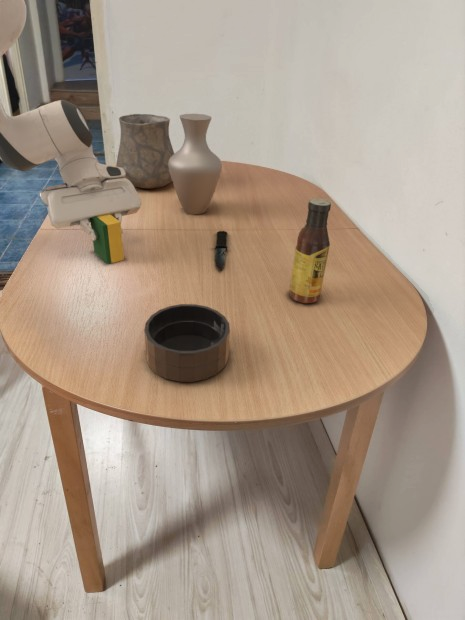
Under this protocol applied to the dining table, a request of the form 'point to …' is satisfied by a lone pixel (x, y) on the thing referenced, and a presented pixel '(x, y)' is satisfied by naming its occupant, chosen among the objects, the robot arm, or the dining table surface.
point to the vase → (195, 166)
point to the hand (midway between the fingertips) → (108, 237)
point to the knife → (220, 249)
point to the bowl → (187, 342)
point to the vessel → (145, 150)
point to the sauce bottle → (311, 254)
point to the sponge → (108, 238)
